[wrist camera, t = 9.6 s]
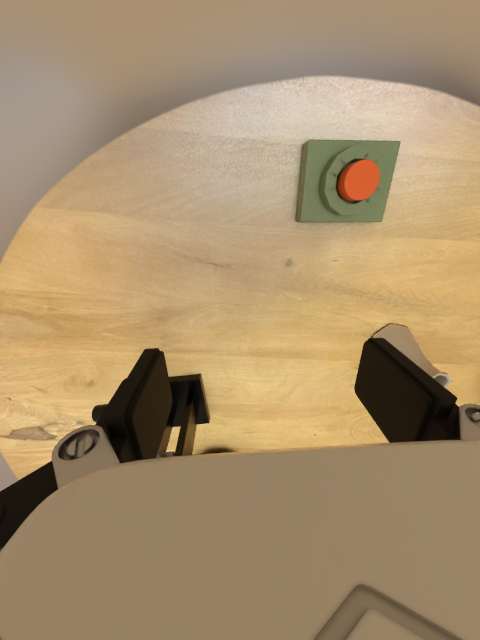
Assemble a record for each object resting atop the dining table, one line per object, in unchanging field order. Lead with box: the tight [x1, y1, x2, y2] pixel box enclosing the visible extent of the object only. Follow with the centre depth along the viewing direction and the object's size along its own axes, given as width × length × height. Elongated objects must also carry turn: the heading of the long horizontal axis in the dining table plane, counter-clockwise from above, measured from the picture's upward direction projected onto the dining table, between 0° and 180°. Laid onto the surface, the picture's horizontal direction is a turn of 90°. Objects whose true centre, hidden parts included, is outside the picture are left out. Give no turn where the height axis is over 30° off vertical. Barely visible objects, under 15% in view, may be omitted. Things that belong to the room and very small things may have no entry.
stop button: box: [338, 159, 380, 201], centre depth 25 cm, size 4×4×2 cm
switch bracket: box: [160, 374, 210, 457], centre depth 35 cm, size 10×8×14 cm
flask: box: [373, 324, 452, 389], centre depth 34 cm, size 7×7×10 cm
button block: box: [296, 140, 400, 222], centre depth 27 cm, size 10×8×4 cm
